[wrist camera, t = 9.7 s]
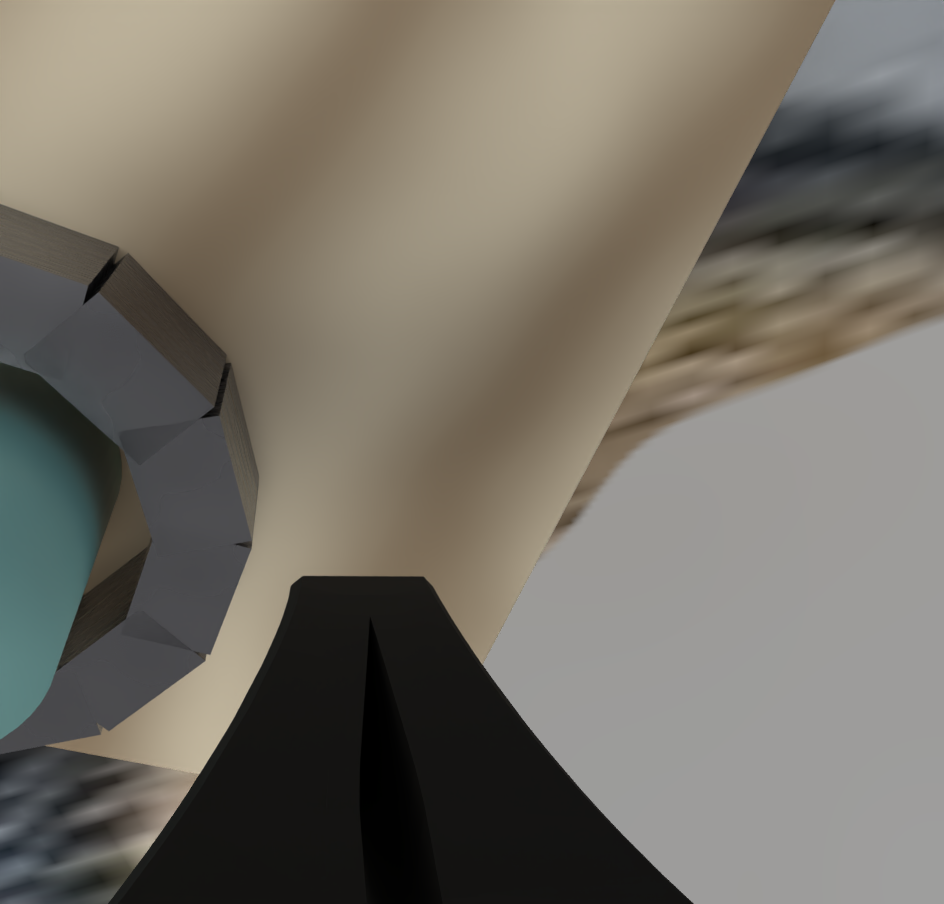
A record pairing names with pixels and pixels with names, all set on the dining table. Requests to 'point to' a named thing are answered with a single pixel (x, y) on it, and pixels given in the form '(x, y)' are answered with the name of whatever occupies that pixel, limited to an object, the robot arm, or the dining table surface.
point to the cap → (45, 530)
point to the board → (392, 258)
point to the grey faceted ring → (132, 466)
